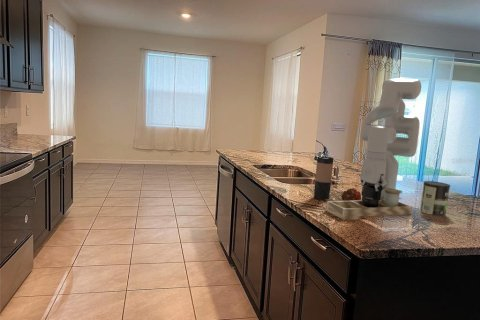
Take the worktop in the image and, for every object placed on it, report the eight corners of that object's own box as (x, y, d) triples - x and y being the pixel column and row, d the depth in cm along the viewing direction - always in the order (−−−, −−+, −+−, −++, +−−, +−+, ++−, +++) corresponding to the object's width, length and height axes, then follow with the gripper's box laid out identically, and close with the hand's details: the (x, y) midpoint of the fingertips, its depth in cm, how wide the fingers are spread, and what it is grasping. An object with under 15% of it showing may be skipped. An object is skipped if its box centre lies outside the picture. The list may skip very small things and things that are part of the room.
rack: (389, 208, 166) (390, 199, 165) (411, 216, 154) (413, 207, 153) (325, 210, 154) (326, 200, 154) (344, 220, 142) (345, 209, 142)
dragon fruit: (349, 211, 161) (347, 208, 173) (366, 202, 159) (364, 200, 171) (338, 194, 162) (338, 193, 174) (356, 185, 161) (354, 184, 172)
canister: (390, 207, 162) (392, 188, 160) (401, 211, 156) (403, 191, 154) (378, 208, 159) (381, 188, 158) (389, 212, 154) (391, 191, 152)
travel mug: (329, 201, 171) (334, 159, 169) (313, 199, 173) (317, 157, 170) (329, 197, 179) (333, 157, 176) (313, 195, 180) (317, 155, 177)
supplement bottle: (365, 209, 150) (368, 180, 148) (358, 204, 157) (361, 177, 155) (380, 209, 151) (384, 181, 149) (373, 205, 158) (377, 178, 156)
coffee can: (446, 214, 161) (450, 183, 159) (444, 219, 153) (449, 187, 151) (420, 209, 167) (424, 179, 165) (417, 214, 158) (422, 183, 156)
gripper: (355, 152, 157) (350, 192, 160) (383, 159, 141) (377, 203, 144) (369, 153, 160) (364, 192, 163) (398, 159, 144) (392, 203, 146)
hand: (370, 197), depth 153 cm, fingers closed on supplement bottle, 6 cm apart
